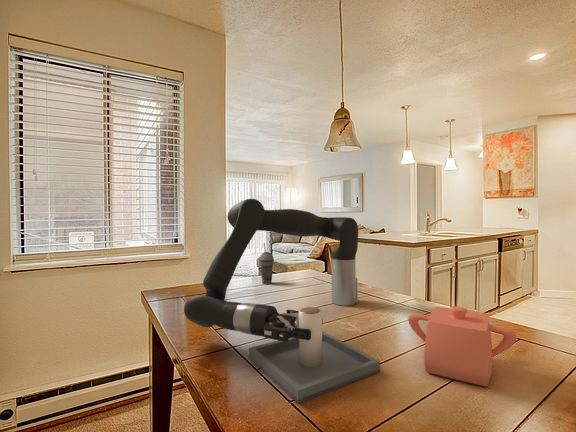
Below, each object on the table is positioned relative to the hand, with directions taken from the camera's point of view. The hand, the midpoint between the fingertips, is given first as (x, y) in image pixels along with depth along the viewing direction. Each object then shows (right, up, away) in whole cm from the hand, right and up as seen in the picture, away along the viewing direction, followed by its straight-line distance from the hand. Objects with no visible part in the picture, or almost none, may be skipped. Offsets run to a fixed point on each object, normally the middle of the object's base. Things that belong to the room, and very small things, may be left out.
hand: (316, 328), depth 75 cm
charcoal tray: (-1, -9, +1) cm, 9 cm away
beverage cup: (-17, -7, +84) cm, 86 cm away
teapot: (+34, -9, +1) cm, 35 cm away
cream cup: (-1, -8, +1) cm, 8 cm away
